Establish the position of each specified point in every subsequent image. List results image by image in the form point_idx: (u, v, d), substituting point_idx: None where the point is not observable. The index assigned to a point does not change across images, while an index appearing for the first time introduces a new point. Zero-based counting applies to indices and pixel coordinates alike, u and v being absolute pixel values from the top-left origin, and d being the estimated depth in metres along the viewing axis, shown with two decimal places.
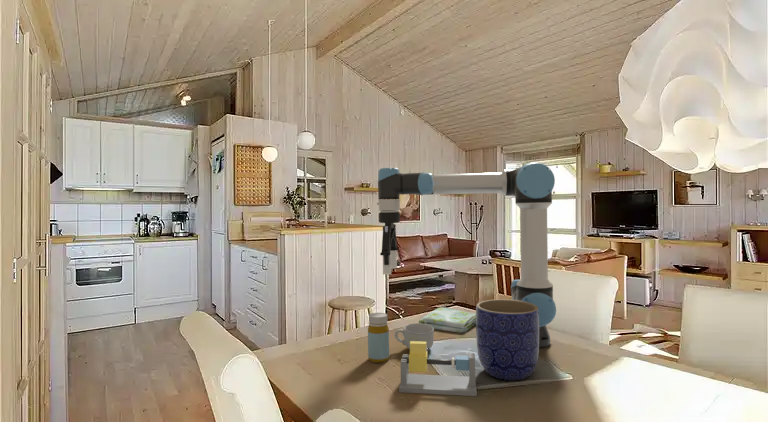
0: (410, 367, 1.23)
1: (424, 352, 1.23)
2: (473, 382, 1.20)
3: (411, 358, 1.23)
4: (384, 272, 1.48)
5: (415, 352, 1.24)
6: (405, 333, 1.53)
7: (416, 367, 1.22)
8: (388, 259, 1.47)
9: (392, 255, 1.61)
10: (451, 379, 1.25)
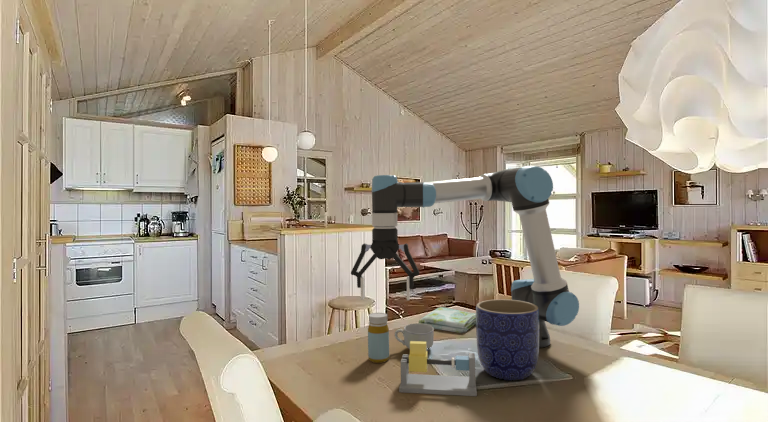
0: (410, 367, 1.23)
1: (424, 352, 1.23)
2: (473, 382, 1.20)
3: (411, 358, 1.23)
4: None
5: (415, 352, 1.24)
6: (405, 333, 1.53)
7: (416, 367, 1.22)
8: (359, 281, 1.29)
9: None
10: (451, 379, 1.25)
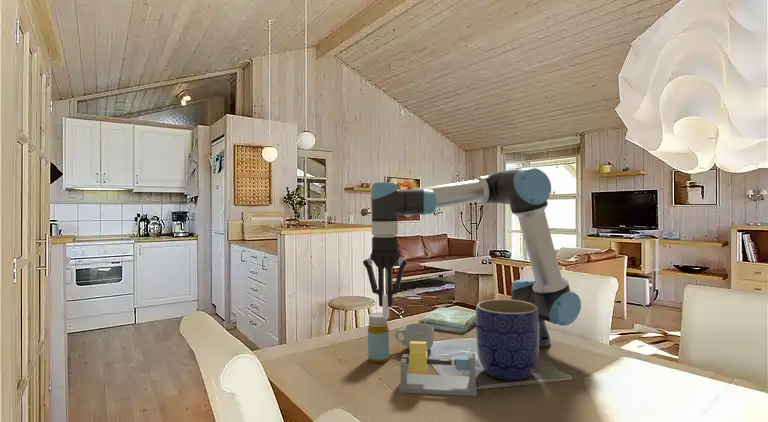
0: (410, 367, 1.23)
1: (424, 352, 1.23)
2: (473, 382, 1.20)
3: (411, 358, 1.23)
4: None
5: (415, 352, 1.24)
6: (405, 333, 1.53)
7: (416, 367, 1.22)
8: (380, 300, 1.25)
9: None
10: (451, 379, 1.25)
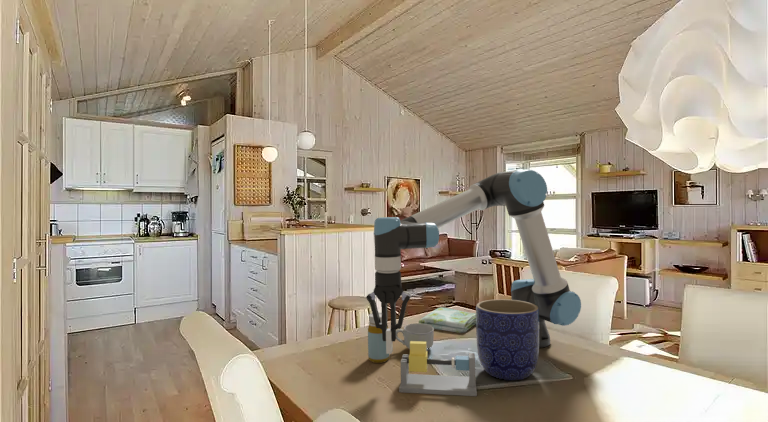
0: (410, 367, 1.23)
1: (424, 352, 1.23)
2: (473, 382, 1.20)
3: (411, 358, 1.23)
4: None
5: (415, 352, 1.24)
6: (405, 333, 1.53)
7: (416, 367, 1.22)
8: (384, 334, 1.25)
9: None
10: (451, 379, 1.25)
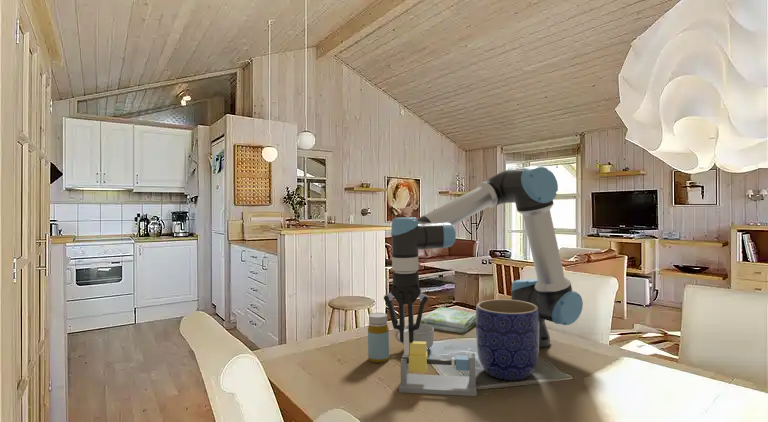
0: (410, 367, 1.23)
1: (424, 352, 1.23)
2: (473, 382, 1.20)
3: (411, 358, 1.23)
4: None
5: (415, 352, 1.24)
6: None
7: (416, 367, 1.22)
8: (401, 335, 1.24)
9: None
10: (451, 379, 1.25)
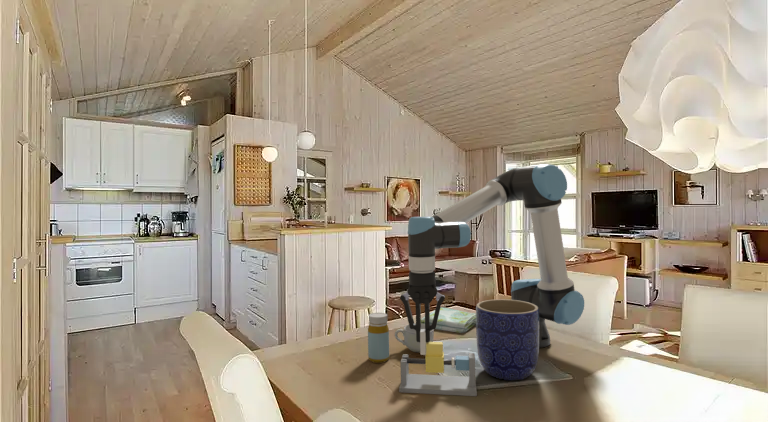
0: (426, 368, 1.22)
1: (441, 353, 1.22)
2: (473, 382, 1.20)
3: (428, 359, 1.22)
4: None
5: (431, 352, 1.23)
6: (405, 333, 1.53)
7: (433, 368, 1.22)
8: (418, 335, 1.24)
9: None
10: (451, 379, 1.25)
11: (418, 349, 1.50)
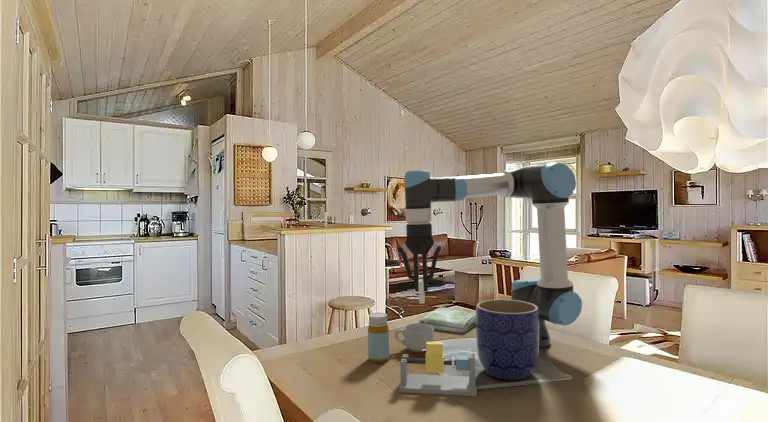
0: (426, 368, 1.22)
1: (441, 353, 1.22)
2: (473, 382, 1.20)
3: (428, 359, 1.22)
4: None
5: (431, 352, 1.23)
6: (405, 333, 1.53)
7: (433, 368, 1.22)
8: (416, 285, 1.28)
9: None
10: (451, 379, 1.25)
11: (418, 349, 1.50)
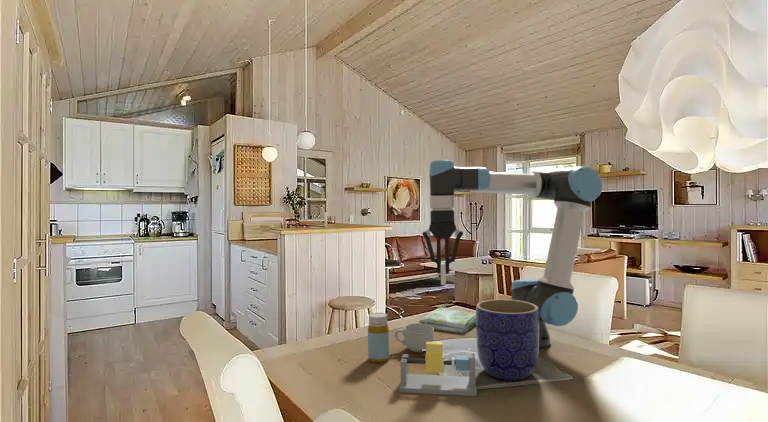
0: (426, 368, 1.22)
1: (441, 353, 1.22)
2: (473, 382, 1.20)
3: (428, 359, 1.22)
4: None
5: (431, 352, 1.23)
6: (405, 333, 1.53)
7: (433, 368, 1.22)
8: (438, 268, 1.37)
9: None
10: (451, 379, 1.25)
11: (418, 349, 1.50)
